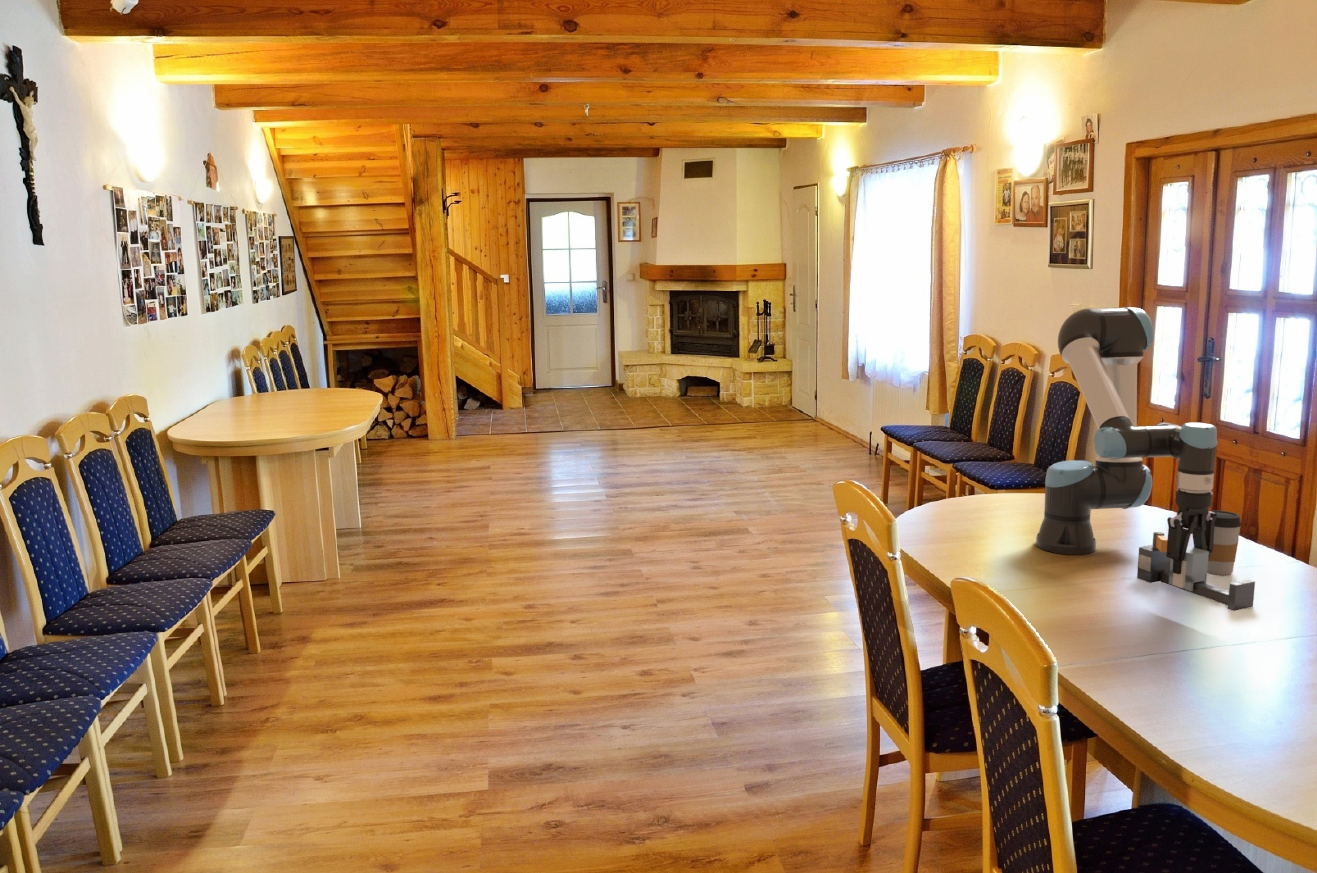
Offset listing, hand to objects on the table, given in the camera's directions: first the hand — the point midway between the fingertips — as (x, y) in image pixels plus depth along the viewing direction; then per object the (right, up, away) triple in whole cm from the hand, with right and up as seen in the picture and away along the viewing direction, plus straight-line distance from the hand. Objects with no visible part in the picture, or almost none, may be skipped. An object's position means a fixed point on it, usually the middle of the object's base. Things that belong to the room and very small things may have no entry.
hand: (1187, 584), depth 234 cm
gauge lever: (-4, +8, +5) cm, 10 cm away
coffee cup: (+14, +1, +11) cm, 18 cm away
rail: (+1, -2, -3) cm, 3 cm away
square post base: (+5, -3, -12) cm, 14 cm away
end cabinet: (-3, 0, +8) cm, 9 cm away
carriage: (0, -1, 0) cm, 1 cm away
